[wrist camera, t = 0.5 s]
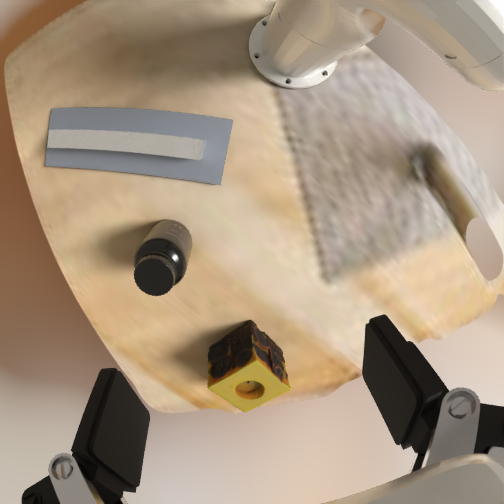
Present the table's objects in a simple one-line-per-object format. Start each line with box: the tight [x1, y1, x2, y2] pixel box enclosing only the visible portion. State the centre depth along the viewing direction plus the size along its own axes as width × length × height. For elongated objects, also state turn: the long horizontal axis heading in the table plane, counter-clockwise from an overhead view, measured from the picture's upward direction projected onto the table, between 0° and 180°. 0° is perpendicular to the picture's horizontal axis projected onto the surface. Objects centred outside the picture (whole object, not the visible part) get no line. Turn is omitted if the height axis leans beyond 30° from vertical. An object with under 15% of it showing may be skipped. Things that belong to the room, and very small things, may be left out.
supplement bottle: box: [134, 220, 192, 296], centre depth 36 cm, size 7×7×12 cm
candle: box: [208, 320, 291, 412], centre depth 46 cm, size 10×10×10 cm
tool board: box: [45, 107, 233, 185], centre depth 34 cm, size 9×28×1 cm, turn 79°
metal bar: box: [47, 129, 206, 160], centre depth 32 cm, size 2×22×4 cm, turn 79°
